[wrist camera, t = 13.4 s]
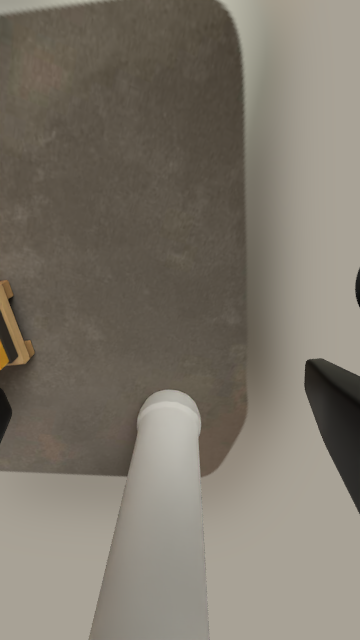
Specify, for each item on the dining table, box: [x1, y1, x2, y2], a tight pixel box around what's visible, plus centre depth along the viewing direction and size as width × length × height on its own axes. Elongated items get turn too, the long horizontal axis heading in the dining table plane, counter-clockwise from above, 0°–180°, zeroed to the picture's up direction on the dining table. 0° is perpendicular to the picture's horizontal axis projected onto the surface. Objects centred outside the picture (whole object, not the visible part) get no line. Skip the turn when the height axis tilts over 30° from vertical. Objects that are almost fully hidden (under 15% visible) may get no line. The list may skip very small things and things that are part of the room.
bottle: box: [89, 389, 210, 640], centre depth 14 cm, size 5×5×25 cm
